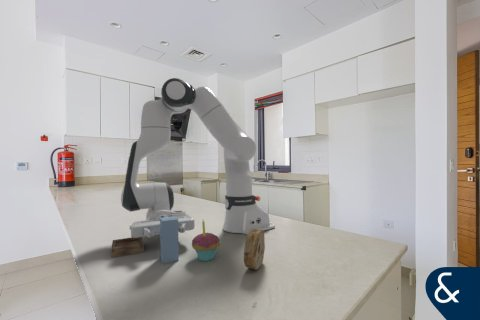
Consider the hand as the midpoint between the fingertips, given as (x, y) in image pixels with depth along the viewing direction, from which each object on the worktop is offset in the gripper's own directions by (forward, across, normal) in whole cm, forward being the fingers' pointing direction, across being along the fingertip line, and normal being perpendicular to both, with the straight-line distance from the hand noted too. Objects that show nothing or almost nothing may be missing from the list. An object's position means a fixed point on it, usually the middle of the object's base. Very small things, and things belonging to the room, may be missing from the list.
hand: (167, 232), depth 72 cm
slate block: (+3, 0, +7) cm, 8 cm away
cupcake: (+7, +10, +7) cm, 14 cm away
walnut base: (-11, -11, +7) cm, 17 cm away
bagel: (+19, +20, +7) cm, 29 cm away
